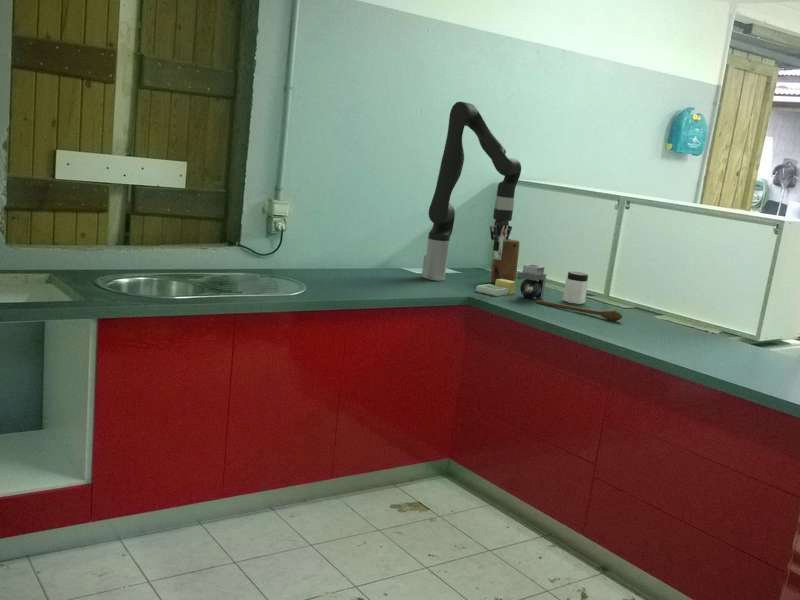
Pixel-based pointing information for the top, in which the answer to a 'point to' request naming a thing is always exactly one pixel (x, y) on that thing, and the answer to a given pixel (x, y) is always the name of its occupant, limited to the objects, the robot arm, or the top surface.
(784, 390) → the top surface
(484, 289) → the tray
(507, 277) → the block
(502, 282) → the block
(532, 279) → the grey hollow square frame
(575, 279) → the jar
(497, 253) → the pin
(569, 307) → the brown wooden spoon
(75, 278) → the top surface
